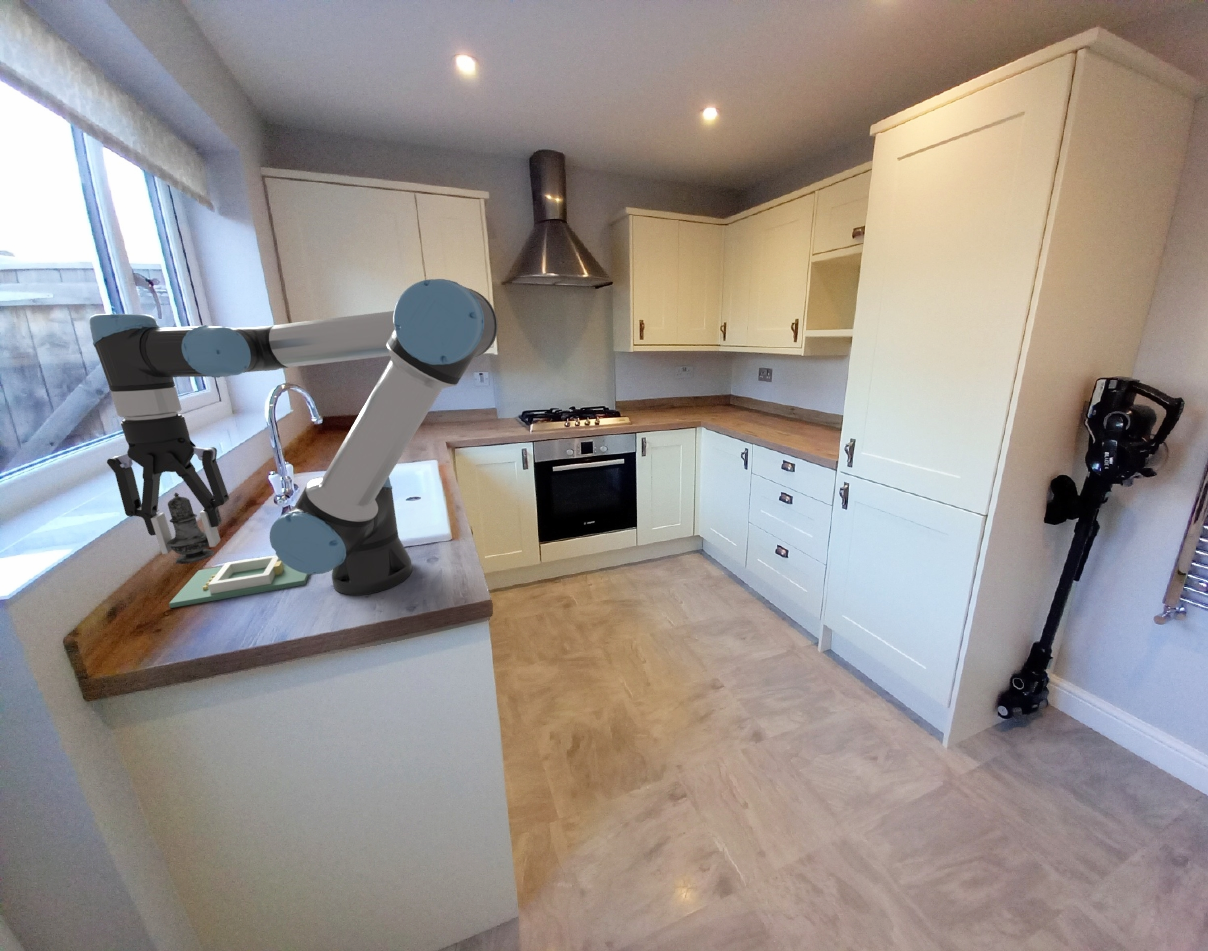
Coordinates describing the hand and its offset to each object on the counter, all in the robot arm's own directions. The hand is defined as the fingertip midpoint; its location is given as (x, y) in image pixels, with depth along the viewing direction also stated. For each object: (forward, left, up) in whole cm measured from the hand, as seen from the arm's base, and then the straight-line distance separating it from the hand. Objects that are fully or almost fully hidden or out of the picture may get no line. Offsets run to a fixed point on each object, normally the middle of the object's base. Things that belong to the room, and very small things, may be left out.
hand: (192, 546), depth 81 cm
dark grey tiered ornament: (0, 0, -2) cm, 2 cm away
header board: (-3, -13, -14) cm, 19 cm away
